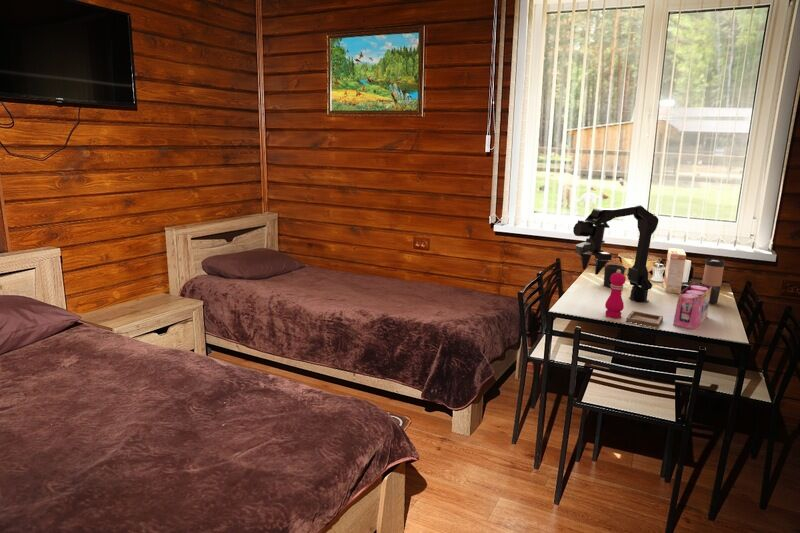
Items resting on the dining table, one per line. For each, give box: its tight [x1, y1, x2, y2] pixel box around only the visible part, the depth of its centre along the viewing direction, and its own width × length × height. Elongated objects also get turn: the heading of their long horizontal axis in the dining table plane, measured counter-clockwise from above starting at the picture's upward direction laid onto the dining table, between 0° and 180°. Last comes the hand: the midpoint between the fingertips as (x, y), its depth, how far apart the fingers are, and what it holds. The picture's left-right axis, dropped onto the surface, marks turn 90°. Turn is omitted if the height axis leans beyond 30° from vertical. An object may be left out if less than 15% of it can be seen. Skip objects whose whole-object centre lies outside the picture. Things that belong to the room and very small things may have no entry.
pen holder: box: [603, 264, 626, 288], centre depth 279 cm, size 9×9×10 cm
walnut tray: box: [625, 310, 664, 329], centre depth 227 cm, size 12×12×2 cm
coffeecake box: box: [662, 247, 687, 295], centre depth 276 cm, size 15×7×20 cm, turn 159°
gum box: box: [672, 282, 712, 330], centre depth 228 cm, size 24×8×14 cm, turn 140°
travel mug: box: [701, 257, 726, 305], centre depth 255 cm, size 8×8×20 cm
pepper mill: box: [604, 269, 626, 319], centre depth 231 cm, size 7×7×20 cm
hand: (590, 271), depth 246 cm, fingers open, 9 cm apart
